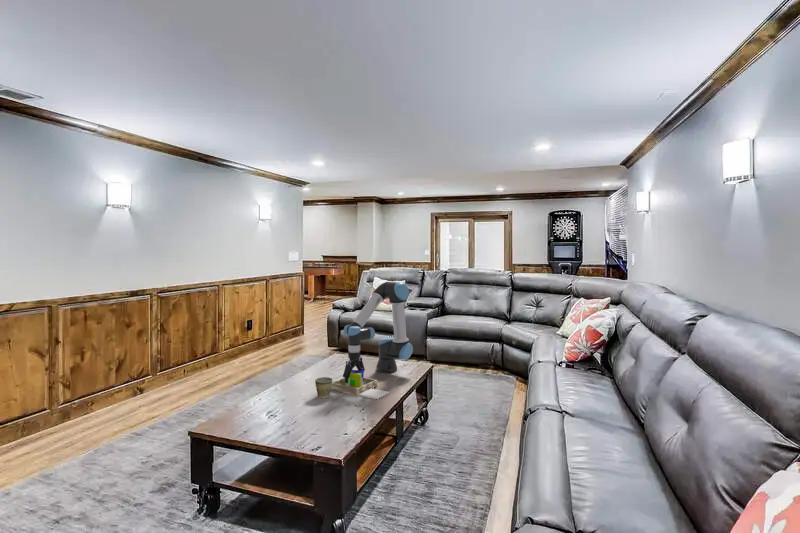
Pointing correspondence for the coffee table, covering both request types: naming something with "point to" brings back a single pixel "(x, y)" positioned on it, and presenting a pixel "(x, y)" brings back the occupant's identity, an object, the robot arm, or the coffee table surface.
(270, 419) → the coffee table surface
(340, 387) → the bin
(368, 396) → the pad
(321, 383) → the ceramic cup
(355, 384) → the puzzle toy
